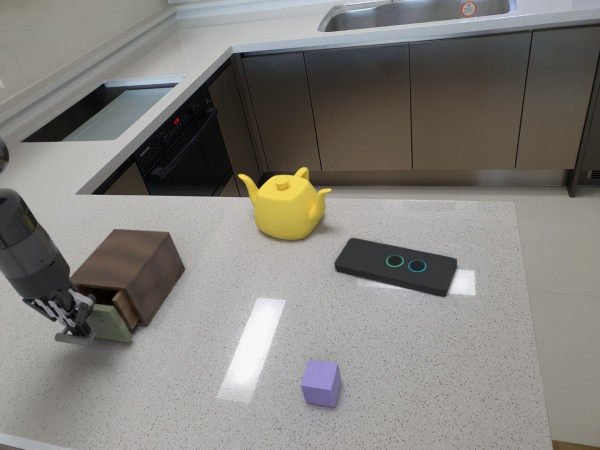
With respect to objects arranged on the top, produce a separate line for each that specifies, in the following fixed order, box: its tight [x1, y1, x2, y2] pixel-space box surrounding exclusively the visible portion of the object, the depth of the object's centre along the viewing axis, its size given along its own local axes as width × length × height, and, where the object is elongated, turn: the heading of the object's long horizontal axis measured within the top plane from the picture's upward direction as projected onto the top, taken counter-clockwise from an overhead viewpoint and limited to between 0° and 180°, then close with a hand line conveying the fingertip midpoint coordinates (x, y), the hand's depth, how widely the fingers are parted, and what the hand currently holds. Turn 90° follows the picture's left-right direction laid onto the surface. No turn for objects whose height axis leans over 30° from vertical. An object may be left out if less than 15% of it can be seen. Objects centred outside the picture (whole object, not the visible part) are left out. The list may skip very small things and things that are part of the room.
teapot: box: [237, 166, 332, 241], centre depth 95 cm, size 22×16×11 cm
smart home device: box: [333, 237, 458, 297], centre depth 81 cm, size 8×2×20 cm
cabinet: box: [69, 228, 186, 327], centre depth 85 cm, size 15×13×10 cm
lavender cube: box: [300, 358, 342, 408], centre depth 64 cm, size 4×4×4 cm
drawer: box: [54, 286, 140, 348], centre depth 80 cm, size 18×11×8 cm, turn 163°
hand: (84, 335), depth 75 cm, fingers closed
